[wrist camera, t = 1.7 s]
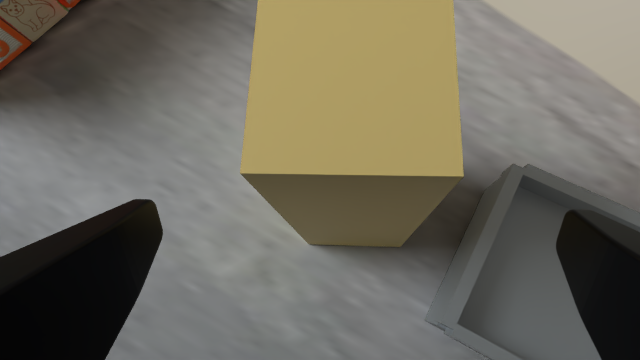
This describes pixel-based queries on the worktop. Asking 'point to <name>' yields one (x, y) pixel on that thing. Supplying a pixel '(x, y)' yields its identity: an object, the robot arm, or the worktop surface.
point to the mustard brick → (353, 116)
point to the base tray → (519, 271)
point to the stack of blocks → (27, 23)
